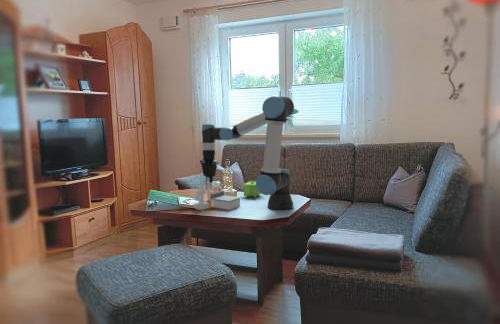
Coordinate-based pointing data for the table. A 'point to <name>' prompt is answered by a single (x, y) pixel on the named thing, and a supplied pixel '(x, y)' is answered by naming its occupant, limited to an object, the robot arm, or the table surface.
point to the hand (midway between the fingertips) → (209, 187)
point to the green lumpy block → (250, 189)
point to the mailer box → (225, 204)
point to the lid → (223, 197)
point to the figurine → (200, 198)
